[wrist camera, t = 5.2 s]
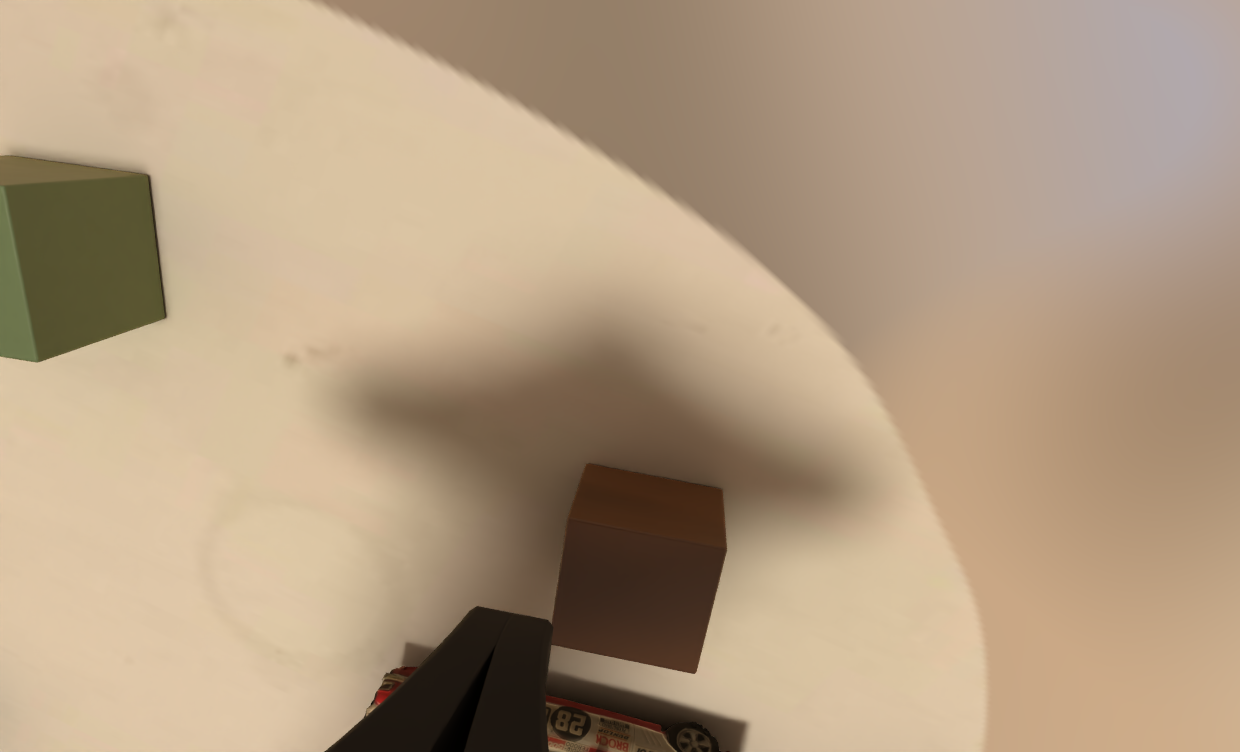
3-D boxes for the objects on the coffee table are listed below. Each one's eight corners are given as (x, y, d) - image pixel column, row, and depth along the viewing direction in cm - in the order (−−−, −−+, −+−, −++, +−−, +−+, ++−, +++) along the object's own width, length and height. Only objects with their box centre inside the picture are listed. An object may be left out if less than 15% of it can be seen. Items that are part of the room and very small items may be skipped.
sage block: (166, 319, 19) (37, 363, 15) (35, 299, 19) (-122, 338, 16) (148, 174, 18) (3, 185, 14) (8, 154, 18) (-172, 160, 14)
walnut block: (696, 601, 21) (696, 675, 18) (568, 576, 21) (548, 644, 18) (723, 488, 19) (727, 549, 16) (585, 462, 19) (567, 517, 17)
